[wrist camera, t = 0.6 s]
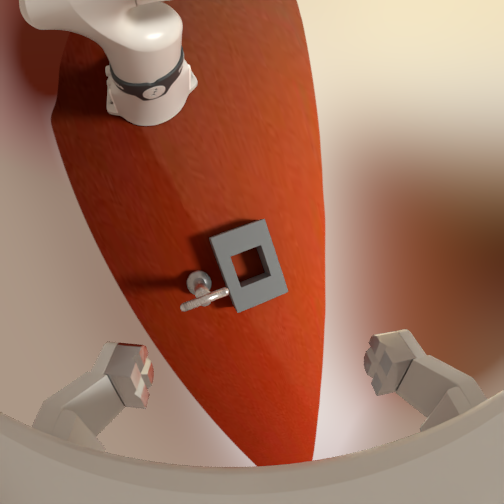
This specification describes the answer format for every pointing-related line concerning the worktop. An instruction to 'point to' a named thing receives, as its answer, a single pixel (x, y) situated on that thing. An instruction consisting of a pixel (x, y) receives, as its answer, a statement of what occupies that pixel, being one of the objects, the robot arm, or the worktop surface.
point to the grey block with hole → (272, 279)
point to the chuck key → (201, 290)
